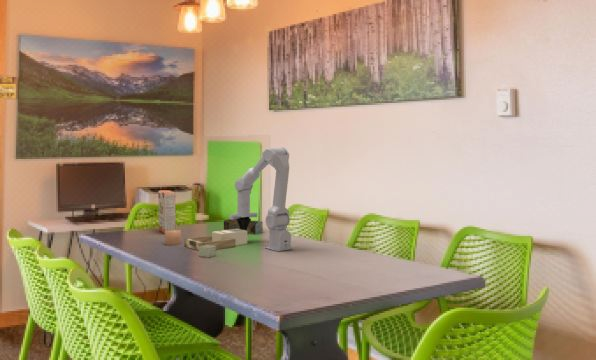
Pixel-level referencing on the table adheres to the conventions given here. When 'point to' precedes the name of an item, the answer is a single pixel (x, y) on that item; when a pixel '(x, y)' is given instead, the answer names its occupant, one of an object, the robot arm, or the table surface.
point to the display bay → (208, 242)
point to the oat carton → (231, 236)
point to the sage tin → (207, 251)
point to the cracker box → (166, 210)
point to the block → (173, 237)
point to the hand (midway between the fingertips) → (243, 233)
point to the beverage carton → (252, 228)
